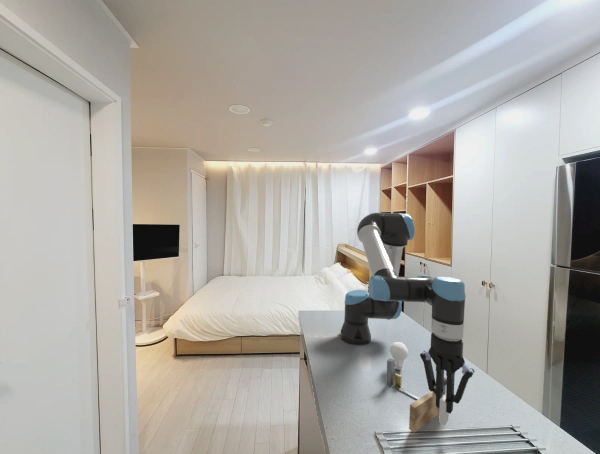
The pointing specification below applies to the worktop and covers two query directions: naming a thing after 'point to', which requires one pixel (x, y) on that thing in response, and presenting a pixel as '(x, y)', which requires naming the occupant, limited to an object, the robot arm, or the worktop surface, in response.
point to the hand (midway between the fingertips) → (443, 421)
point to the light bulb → (398, 354)
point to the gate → (423, 410)
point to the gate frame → (399, 379)
